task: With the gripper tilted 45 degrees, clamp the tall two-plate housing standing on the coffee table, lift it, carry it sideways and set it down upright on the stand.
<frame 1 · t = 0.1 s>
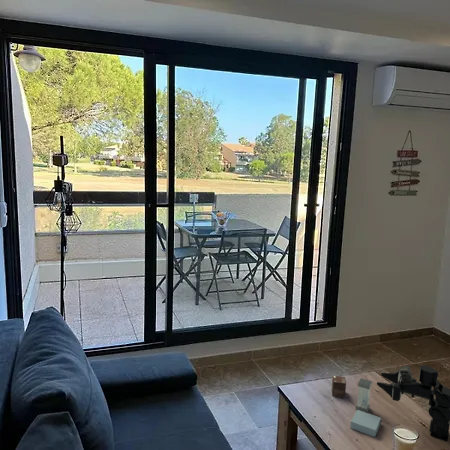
hand: (379, 378, 179), 17 cm above the table, tool horizontal, fingers open, 9 cm apart
box: (338, 394, 197), on the table
stand: (365, 426, 173), on the table
housing: (362, 408, 185), on the table
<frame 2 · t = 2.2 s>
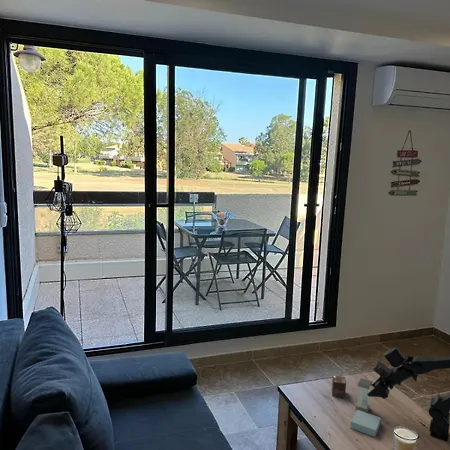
hand: (370, 390, 182), 10 cm above the table, tool tilted 45°, fingers open, 9 cm apart
nothing on the table moved.
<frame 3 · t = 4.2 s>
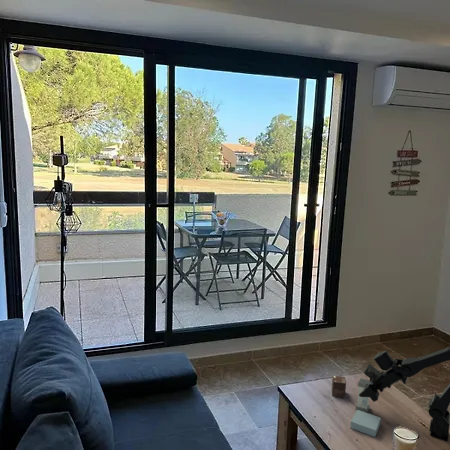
hand: (360, 393, 185), 7 cm above the table, tool tilted 45°, fingers closed on housing, 4 cm apart
housing: (362, 408, 185), on the table, touching gripper
everything else where it was.
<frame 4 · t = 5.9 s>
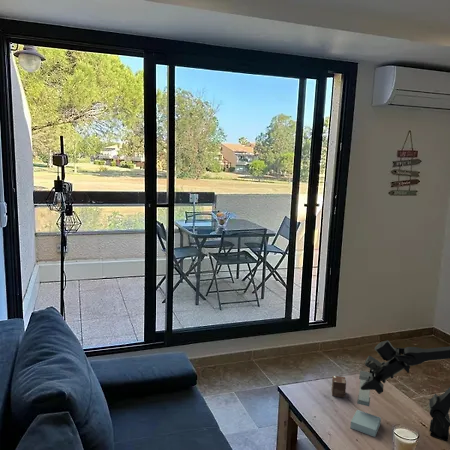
hand: (361, 386, 179), 13 cm above the table, tool tilted 45°, fingers closed on housing, 4 cm apart
housing: (363, 402, 179), point 6 cm above the table, touching gripper
everything else where it was.
when the fingers open (11 cm above the table, at t = 7.6 s): housing drops 1 cm, resting on stand.
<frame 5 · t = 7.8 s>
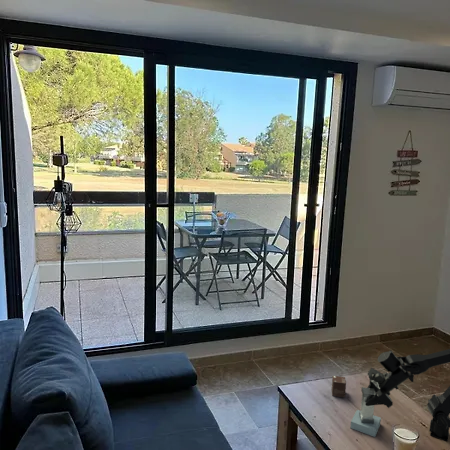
hand: (364, 400, 171), 12 cm above the table, tool tilted 45°, fingers open, 6 cm apart
housing: (366, 419, 172), point 3 cm above the table, touching stand
everything else where it was.
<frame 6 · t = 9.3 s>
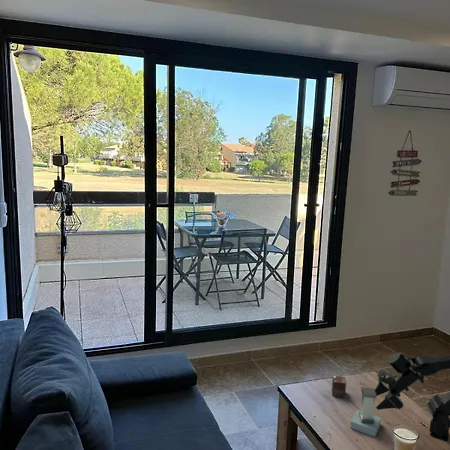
hand: (374, 402, 171), 11 cm above the table, tool tilted 45°, fingers open, 9 cm apart
nothing on the table moved.
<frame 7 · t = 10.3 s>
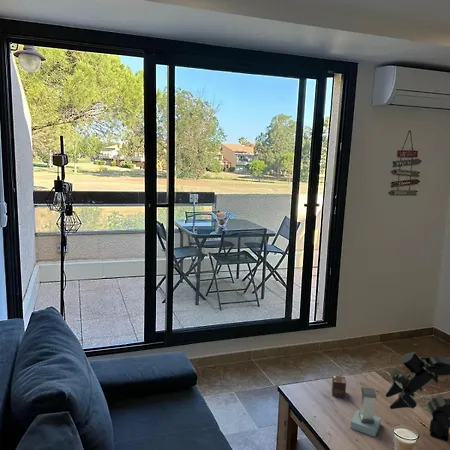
hand: (388, 402, 170), 12 cm above the table, tool tilted 45°, fingers open, 9 cm apart
nothing on the table moved.
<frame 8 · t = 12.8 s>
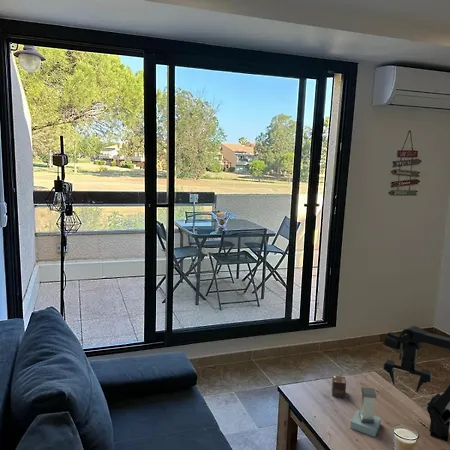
hand: (405, 388, 179), 13 cm above the table, tool pointing down, fingers open, 9 cm apart
nothing on the table moved.
at the end: housing 0.1 cm off-centre on the stand, point 3.0 cm above the stand's base; housing tilted 0°; the gripper is holding nothing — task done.
